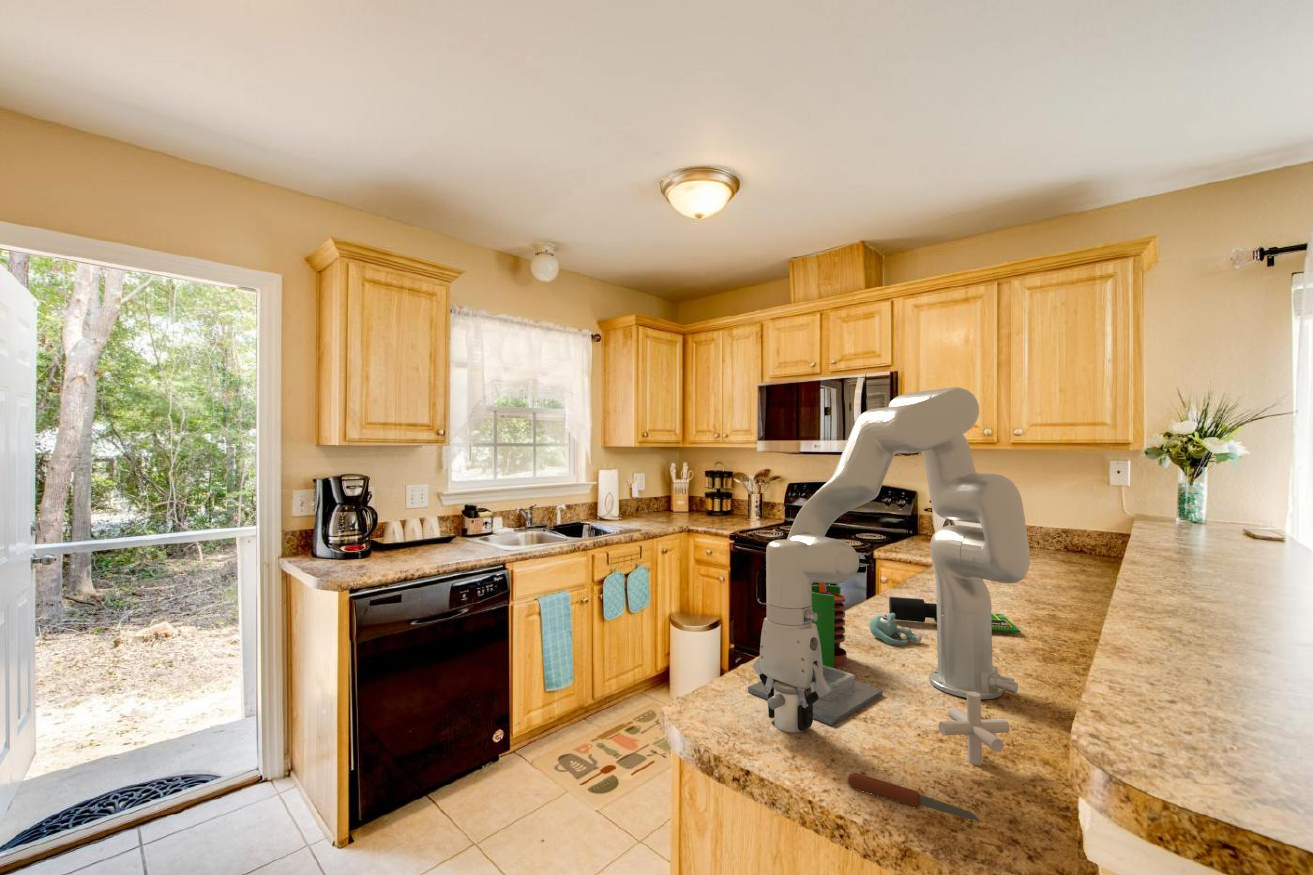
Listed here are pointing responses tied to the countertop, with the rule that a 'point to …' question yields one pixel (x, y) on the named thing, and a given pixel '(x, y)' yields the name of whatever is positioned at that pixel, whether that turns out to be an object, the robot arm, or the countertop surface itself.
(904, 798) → the kitchen knife
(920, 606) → the electronic board model
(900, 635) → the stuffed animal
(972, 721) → the pipe connector
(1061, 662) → the countertop surface
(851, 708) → the mount plate
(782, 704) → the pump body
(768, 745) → the countertop surface
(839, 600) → the motor
